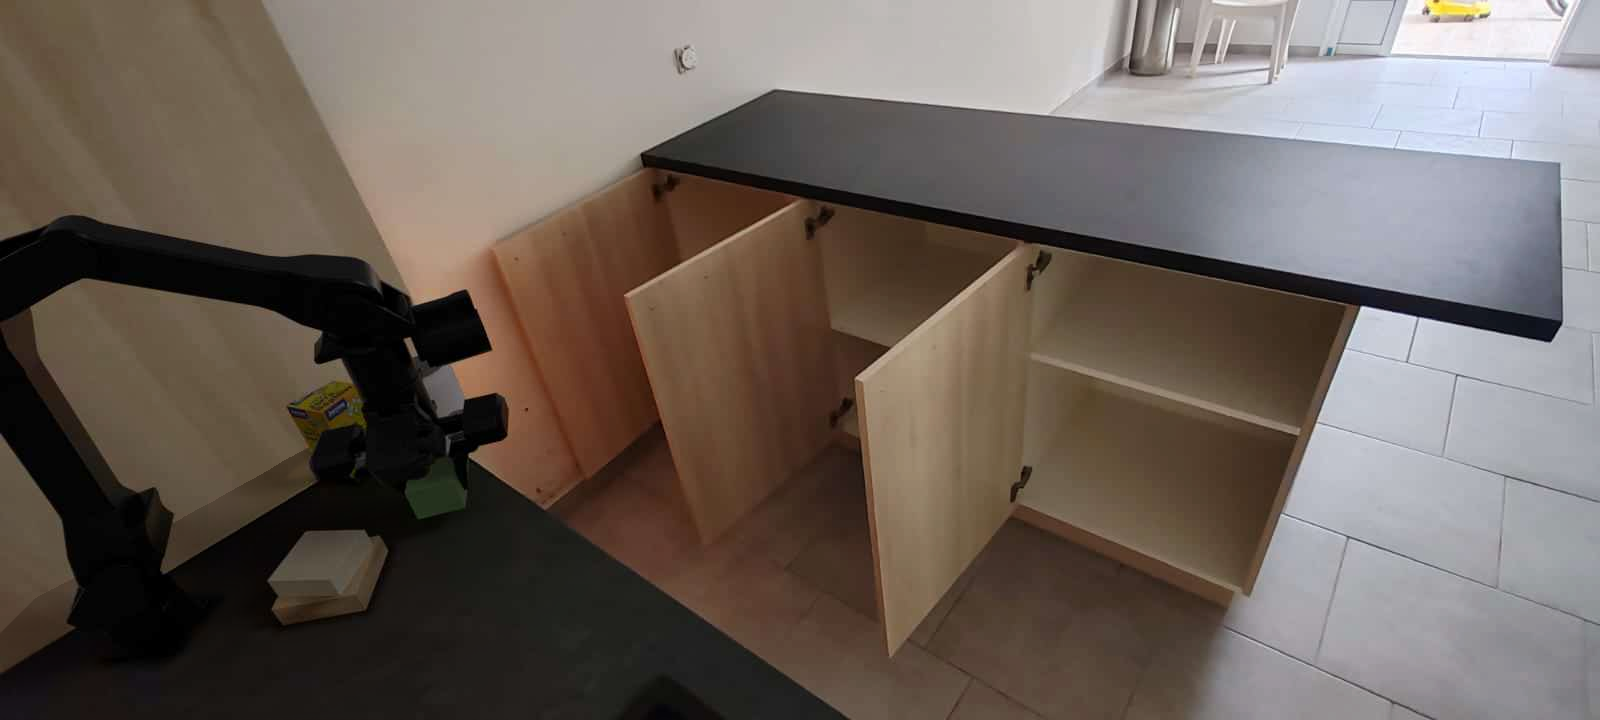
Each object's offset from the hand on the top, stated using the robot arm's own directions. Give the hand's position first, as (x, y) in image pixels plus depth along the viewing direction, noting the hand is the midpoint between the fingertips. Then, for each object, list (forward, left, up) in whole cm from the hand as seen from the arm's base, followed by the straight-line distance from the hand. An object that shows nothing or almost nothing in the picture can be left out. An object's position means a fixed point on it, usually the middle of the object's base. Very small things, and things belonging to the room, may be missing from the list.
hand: (441, 493), depth 83 cm
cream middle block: (-9, -9, -1) cm, 13 cm away
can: (-5, +14, -4) cm, 15 cm away
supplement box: (-16, +11, -4) cm, 20 cm away
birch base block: (-9, -9, -4) cm, 13 cm away
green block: (0, 0, -1) cm, 1 cm away
